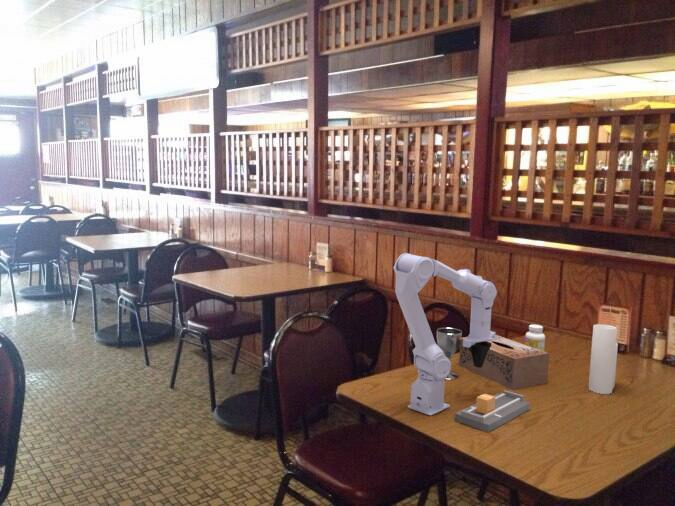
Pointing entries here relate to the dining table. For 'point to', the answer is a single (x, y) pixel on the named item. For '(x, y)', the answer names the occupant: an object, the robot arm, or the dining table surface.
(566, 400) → the dining table surface
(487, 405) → the fader tab
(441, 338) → the wine glass
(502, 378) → the tissue box cover
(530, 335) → the supplement bottle
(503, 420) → the grey flat railed block
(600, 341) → the candle
